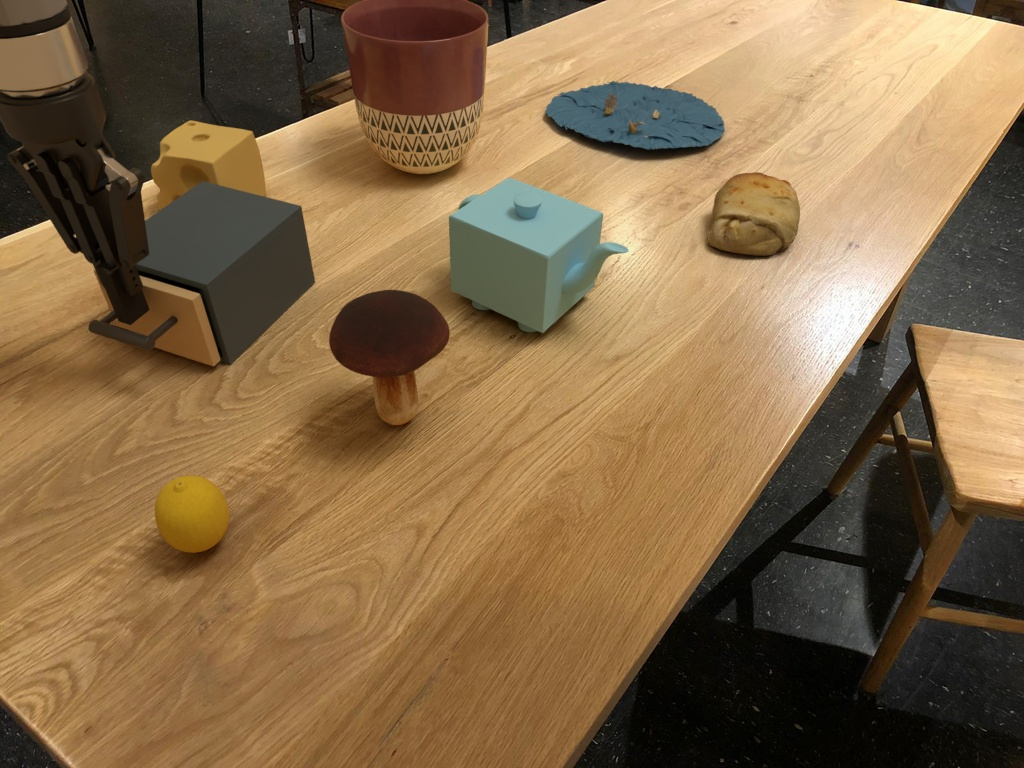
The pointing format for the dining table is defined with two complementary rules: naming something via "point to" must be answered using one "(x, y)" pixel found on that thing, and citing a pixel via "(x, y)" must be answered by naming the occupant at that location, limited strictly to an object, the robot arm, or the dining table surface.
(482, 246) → the teapot
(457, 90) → the planter
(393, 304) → the decorative mushroom
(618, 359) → the dining table surface
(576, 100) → the decorative plate
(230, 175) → the cheese
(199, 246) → the cabinet
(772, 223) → the pastry
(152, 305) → the drawer
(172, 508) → the lemon
